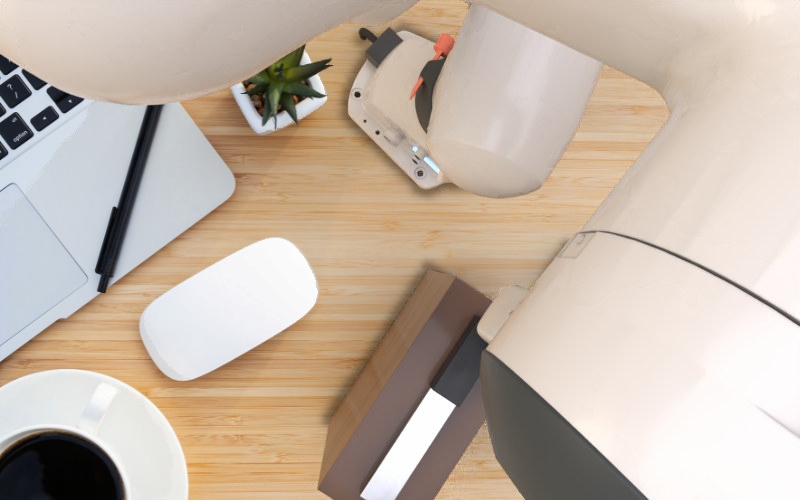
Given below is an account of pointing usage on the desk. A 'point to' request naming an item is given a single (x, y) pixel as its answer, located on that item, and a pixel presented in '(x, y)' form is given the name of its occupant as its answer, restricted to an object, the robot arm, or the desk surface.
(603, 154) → the desk surface
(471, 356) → the knife
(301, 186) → the desk surface
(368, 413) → the stand
